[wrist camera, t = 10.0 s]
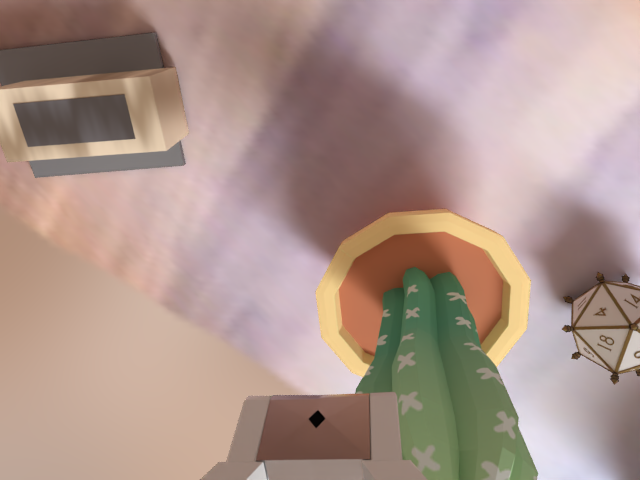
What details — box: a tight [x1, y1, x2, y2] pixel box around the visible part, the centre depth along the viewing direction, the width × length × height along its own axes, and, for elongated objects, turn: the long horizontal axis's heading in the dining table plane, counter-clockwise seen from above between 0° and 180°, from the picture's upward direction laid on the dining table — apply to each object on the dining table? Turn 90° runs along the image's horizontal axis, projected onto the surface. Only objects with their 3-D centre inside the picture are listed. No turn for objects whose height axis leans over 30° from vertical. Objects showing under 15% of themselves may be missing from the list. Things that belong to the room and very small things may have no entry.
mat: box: [0, 32, 186, 178], centre depth 39 cm, size 10×13×1 cm
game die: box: [562, 272, 640, 385], centre depth 40 cm, size 9×8×10 cm
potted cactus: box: [316, 209, 538, 480], centre depth 32 cm, size 15×15×25 cm
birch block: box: [0, 67, 189, 162], centre depth 36 cm, size 5×5×12 cm
